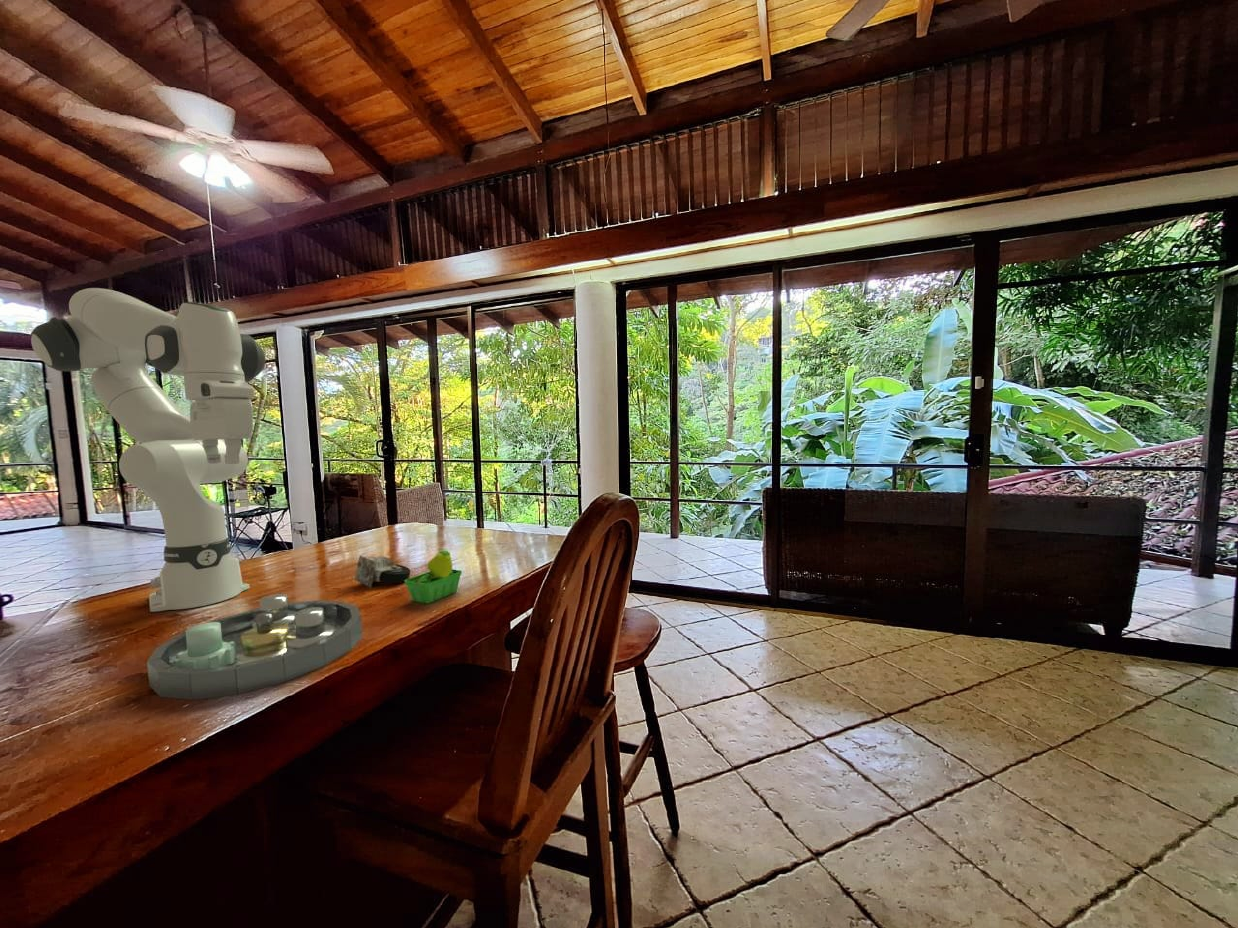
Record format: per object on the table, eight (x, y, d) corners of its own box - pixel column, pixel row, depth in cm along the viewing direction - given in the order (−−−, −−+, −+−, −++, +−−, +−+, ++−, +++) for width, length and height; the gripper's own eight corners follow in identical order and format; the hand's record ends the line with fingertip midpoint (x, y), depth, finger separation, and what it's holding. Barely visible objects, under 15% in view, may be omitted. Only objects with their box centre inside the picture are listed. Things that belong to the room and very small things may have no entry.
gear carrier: (129, 666, 83) (124, 624, 82) (316, 609, 108) (314, 576, 107) (186, 721, 66) (181, 669, 65) (392, 638, 91) (389, 600, 90)
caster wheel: (413, 588, 128) (381, 594, 119) (385, 574, 133) (352, 580, 124) (418, 564, 128) (386, 568, 119) (390, 551, 133) (357, 555, 124)
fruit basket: (441, 586, 121) (439, 542, 120) (468, 591, 117) (466, 545, 116) (403, 602, 111) (400, 554, 110) (431, 607, 107) (428, 557, 106)
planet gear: (168, 669, 79) (164, 631, 78) (226, 650, 85) (223, 614, 84) (184, 682, 74) (180, 641, 74) (244, 661, 81) (240, 623, 80)
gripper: (176, 393, 93) (183, 464, 95) (214, 385, 82) (222, 466, 83) (217, 395, 99) (223, 461, 100) (258, 387, 87) (264, 463, 88)
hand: (223, 463), depth 91 cm, fingers open, 8 cm apart
